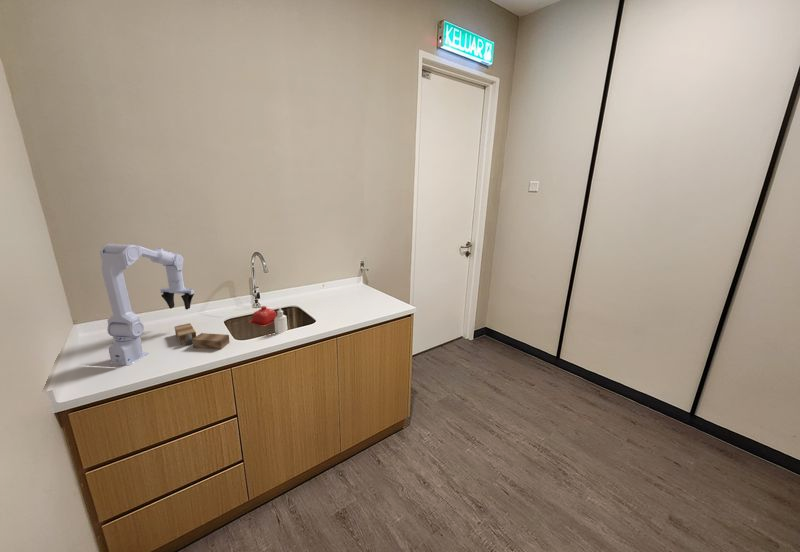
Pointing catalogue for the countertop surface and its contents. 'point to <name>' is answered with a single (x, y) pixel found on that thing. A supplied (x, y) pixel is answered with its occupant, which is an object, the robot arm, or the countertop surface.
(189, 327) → the swing leaf
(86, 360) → the countertop surface
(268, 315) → the butter dish
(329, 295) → the countertop surface
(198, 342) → the oblong wooden brick
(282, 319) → the eye dropper bottle
